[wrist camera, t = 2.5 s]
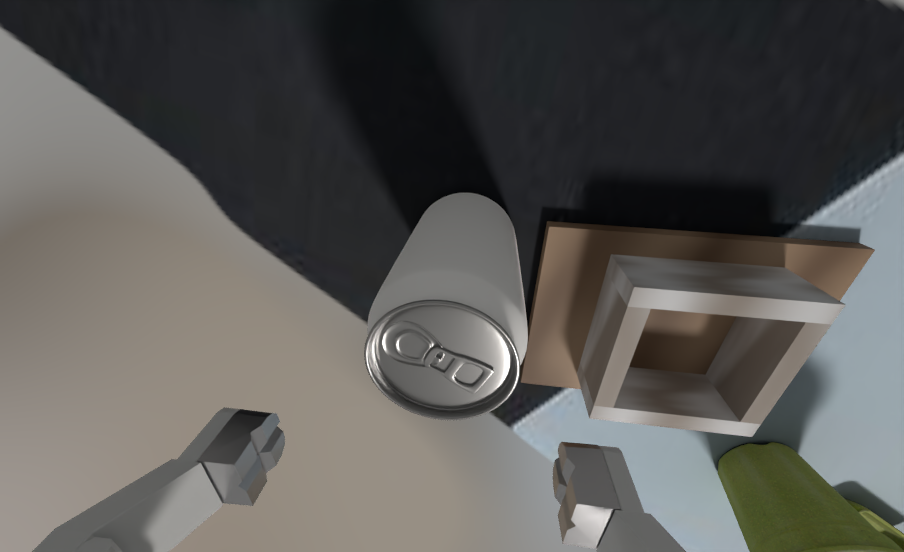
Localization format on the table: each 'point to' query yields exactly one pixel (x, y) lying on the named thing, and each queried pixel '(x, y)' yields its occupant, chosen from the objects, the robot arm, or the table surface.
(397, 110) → the table surface
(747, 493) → the plant pot
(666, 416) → the socket board
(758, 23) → the table surface
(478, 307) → the can
